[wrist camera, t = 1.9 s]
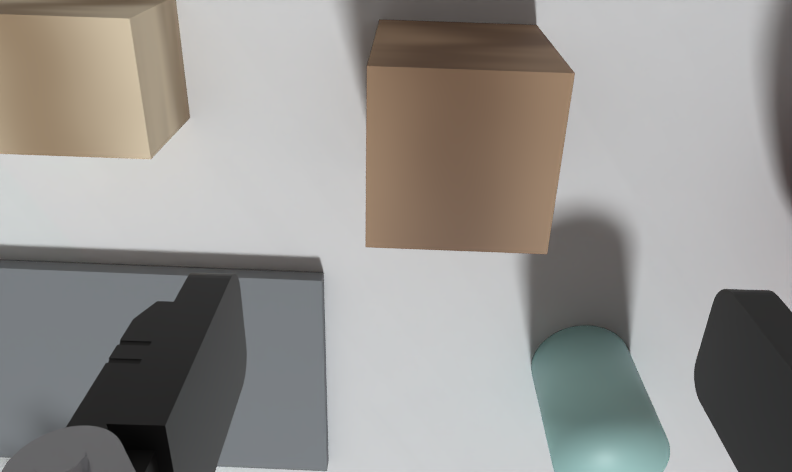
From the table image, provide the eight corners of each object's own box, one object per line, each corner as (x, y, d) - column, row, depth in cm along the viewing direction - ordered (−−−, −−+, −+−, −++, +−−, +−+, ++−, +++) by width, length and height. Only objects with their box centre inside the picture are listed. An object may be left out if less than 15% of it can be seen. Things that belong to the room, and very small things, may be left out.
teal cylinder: (638, 327, 27) (681, 416, 22) (620, 404, 29) (656, 500, 24) (537, 323, 27) (560, 411, 22) (526, 400, 29) (545, 495, 24)
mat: (323, 272, 26) (321, 281, 25) (328, 460, 31) (326, 471, 30) (-63, 257, 26) (-73, 265, 26) (1, 446, 31) (-6, 456, 30)
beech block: (176, -5, 22) (129, 18, 18) (190, 116, 23) (151, 159, 20) (-11, -11, 22) (-94, 10, 18) (19, 110, 23) (-52, 151, 20)
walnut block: (536, 24, 22) (574, 73, 16) (518, 170, 24) (547, 254, 19) (379, 19, 22) (366, 66, 16) (377, 164, 24) (365, 247, 19)
